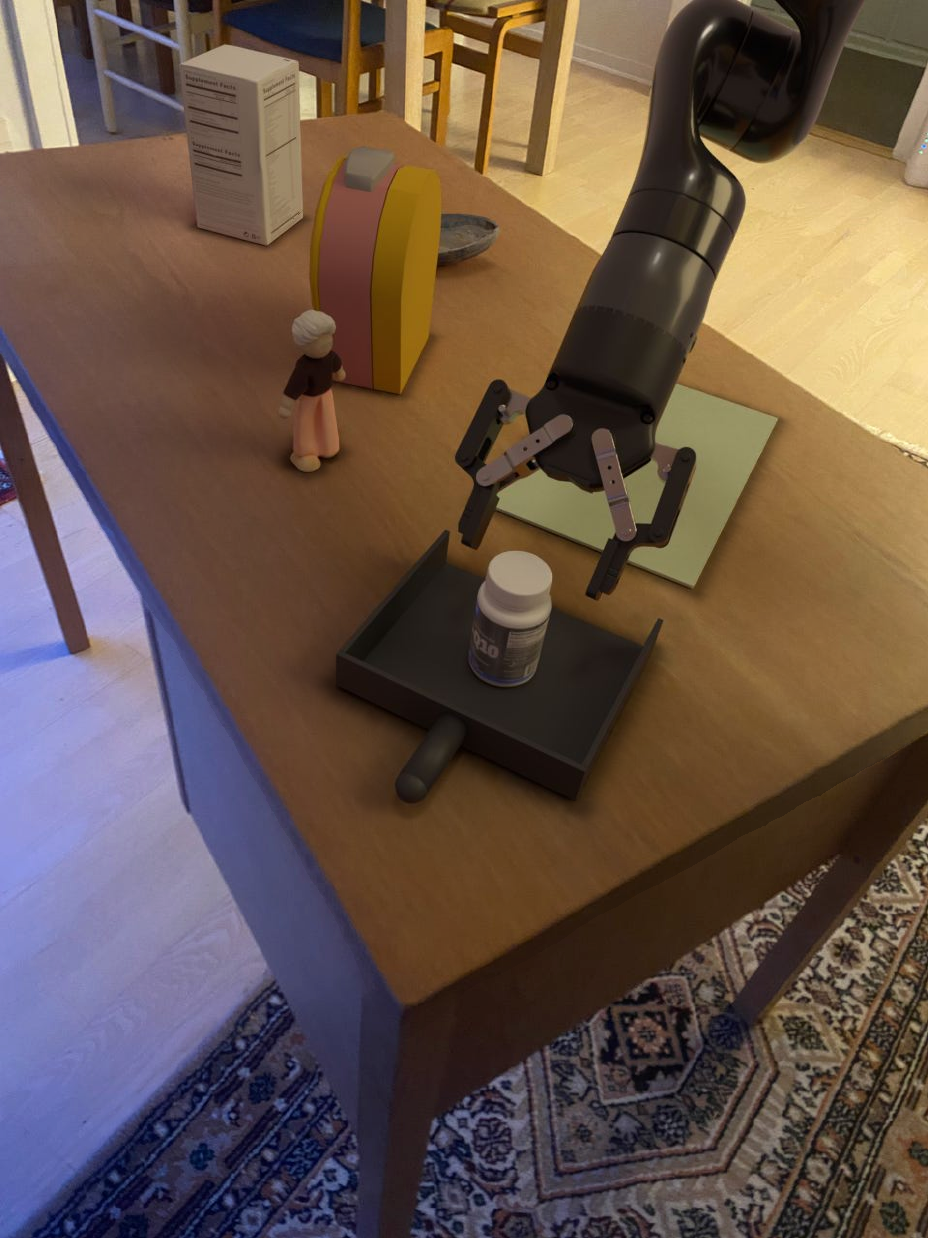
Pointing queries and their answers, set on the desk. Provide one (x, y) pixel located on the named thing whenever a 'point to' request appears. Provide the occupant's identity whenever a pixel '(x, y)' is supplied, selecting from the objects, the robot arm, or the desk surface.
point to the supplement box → (244, 141)
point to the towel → (660, 486)
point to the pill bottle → (510, 619)
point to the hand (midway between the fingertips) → (529, 572)
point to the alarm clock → (376, 264)
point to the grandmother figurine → (313, 391)
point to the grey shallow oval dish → (465, 237)
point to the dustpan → (471, 708)
